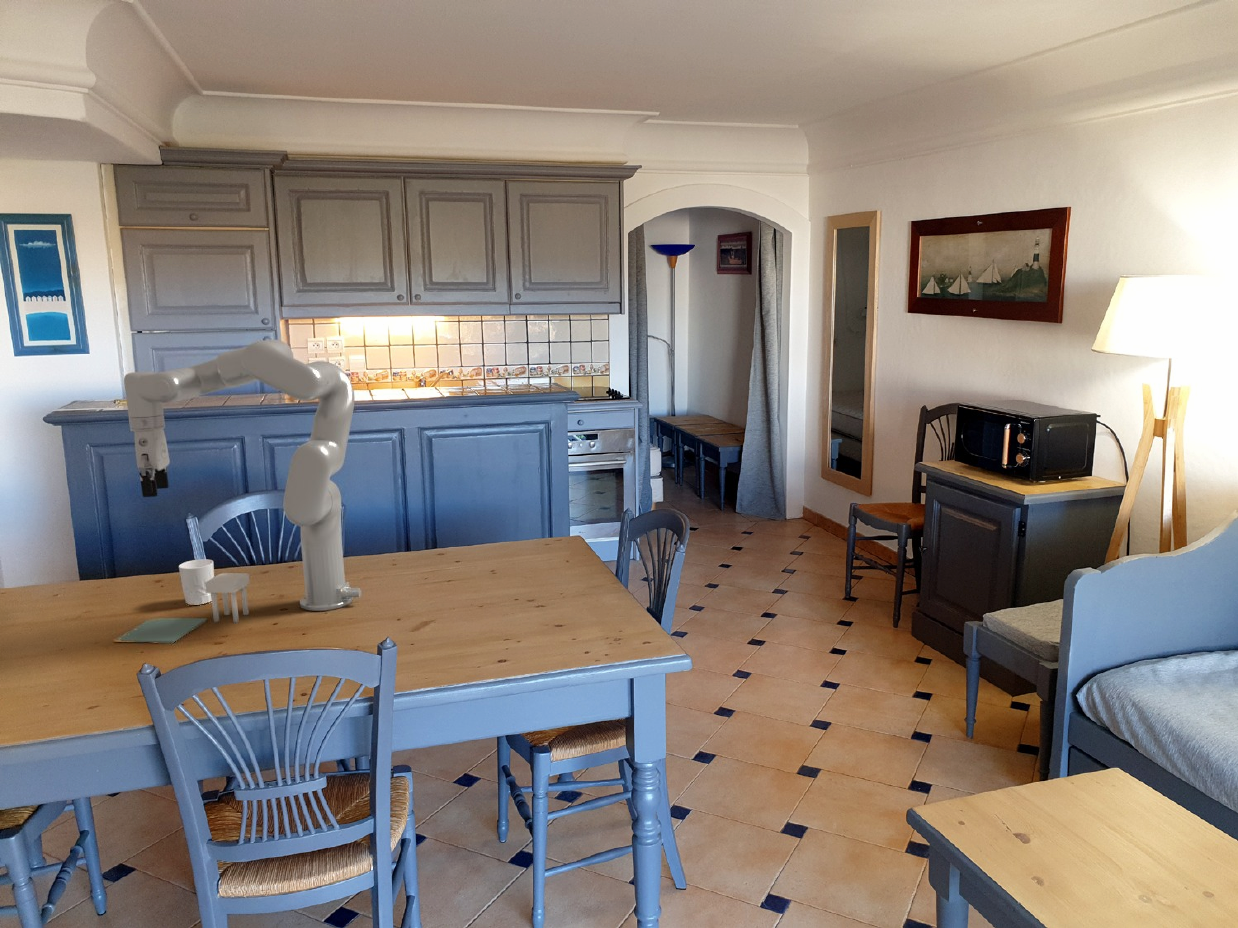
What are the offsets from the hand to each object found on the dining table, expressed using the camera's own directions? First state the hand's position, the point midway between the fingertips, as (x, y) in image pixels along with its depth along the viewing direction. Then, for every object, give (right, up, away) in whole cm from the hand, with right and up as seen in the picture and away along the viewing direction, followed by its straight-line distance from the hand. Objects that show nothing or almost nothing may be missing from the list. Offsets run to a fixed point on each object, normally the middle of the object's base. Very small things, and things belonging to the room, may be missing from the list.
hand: (156, 492), depth 220 cm
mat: (+8, -32, -13) cm, 35 cm away
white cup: (+8, -28, +7) cm, 30 cm away
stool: (+21, -30, -5) cm, 37 cm away
